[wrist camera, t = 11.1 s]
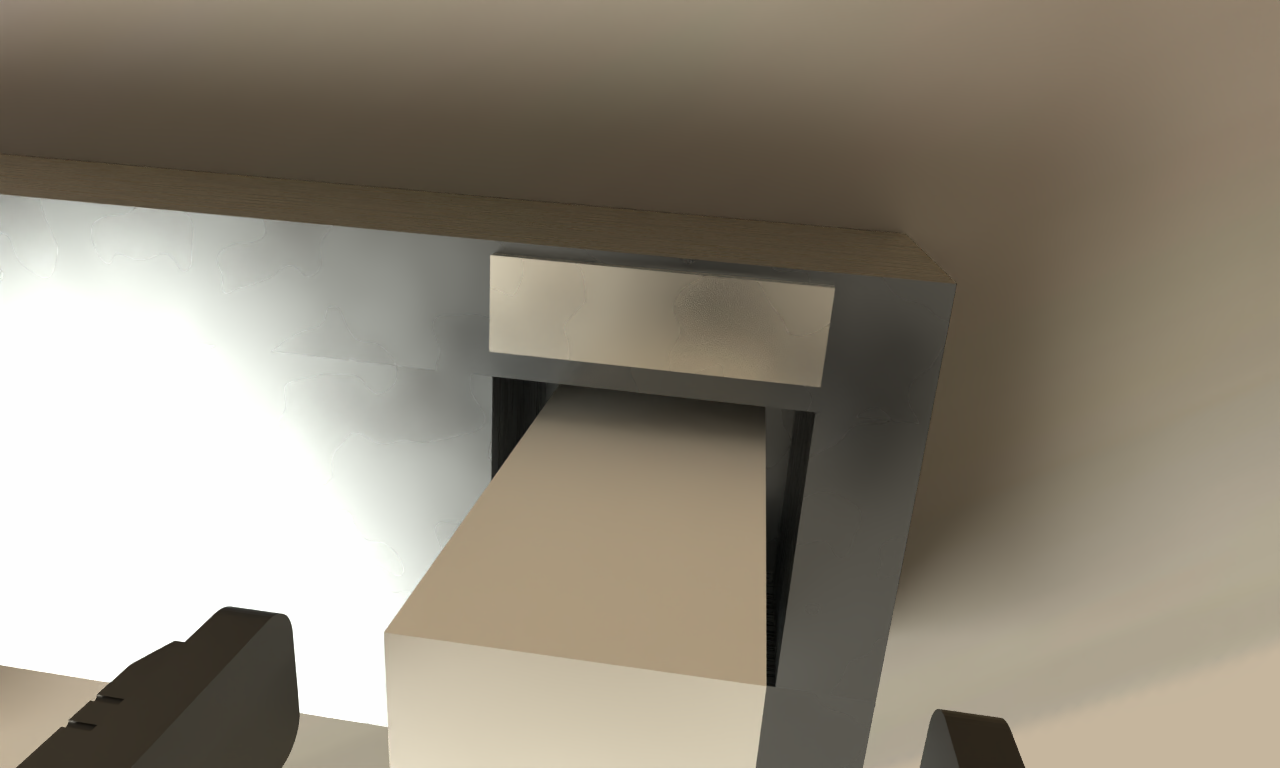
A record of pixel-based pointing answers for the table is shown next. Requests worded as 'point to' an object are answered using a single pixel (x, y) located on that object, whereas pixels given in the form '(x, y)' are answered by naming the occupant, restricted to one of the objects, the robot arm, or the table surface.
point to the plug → (596, 598)
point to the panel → (423, 409)
